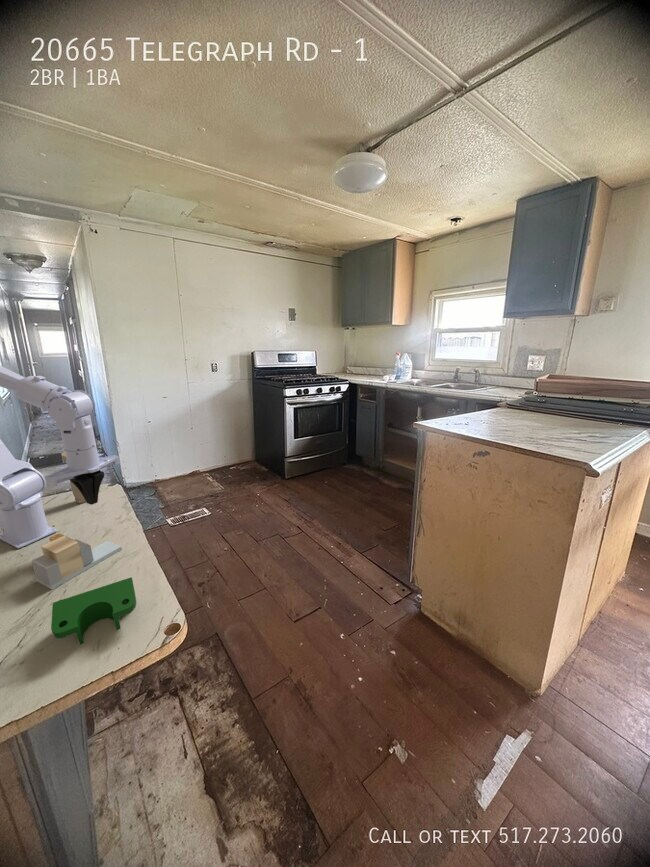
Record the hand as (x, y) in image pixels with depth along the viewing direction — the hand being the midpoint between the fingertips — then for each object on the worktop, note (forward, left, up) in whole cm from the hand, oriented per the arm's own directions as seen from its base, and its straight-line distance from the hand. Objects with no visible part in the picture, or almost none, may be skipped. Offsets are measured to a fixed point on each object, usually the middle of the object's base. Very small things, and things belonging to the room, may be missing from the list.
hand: (92, 502), depth 78 cm
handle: (-22, +9, -10) cm, 26 cm away
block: (+6, -11, -9) cm, 15 cm away
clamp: (+26, -15, -10) cm, 31 cm away
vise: (+6, -8, -9) cm, 14 cm away
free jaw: (+3, -7, -9) cm, 12 cm away
